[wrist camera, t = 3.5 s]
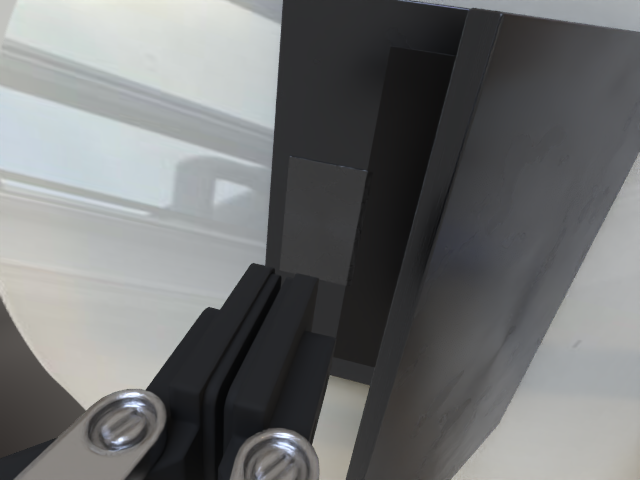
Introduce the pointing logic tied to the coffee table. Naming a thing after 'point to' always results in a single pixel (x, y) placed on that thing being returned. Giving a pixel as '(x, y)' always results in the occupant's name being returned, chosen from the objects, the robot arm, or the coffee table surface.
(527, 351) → the screen
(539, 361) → the coffee table surface
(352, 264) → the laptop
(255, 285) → the robot arm
